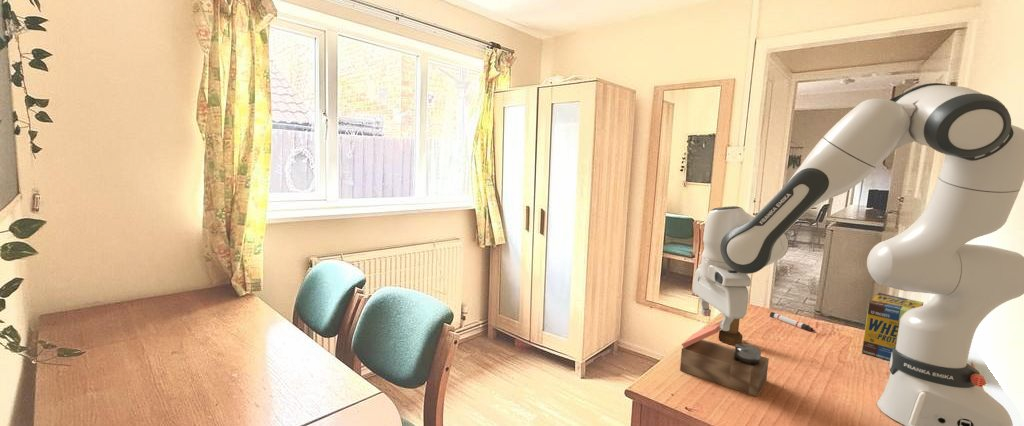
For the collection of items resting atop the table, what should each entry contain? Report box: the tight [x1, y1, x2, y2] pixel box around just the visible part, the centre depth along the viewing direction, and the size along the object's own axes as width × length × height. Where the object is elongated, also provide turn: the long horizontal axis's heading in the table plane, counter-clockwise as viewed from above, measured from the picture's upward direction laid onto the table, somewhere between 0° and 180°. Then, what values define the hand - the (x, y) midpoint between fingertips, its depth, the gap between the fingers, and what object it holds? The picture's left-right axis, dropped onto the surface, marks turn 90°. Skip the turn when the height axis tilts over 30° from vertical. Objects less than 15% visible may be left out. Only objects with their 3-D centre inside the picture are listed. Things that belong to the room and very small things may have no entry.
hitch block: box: [679, 339, 770, 397], centre depth 110 cm, size 18×10×6 cm, turn 49°
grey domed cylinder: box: [734, 342, 762, 366], centre depth 107 cm, size 6×6×8 cm
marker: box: [769, 311, 816, 332], centre depth 147 cm, size 15×2×2 cm, turn 22°
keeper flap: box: [681, 319, 723, 348], centre depth 113 cm, size 10×9×1 cm
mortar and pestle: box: [718, 319, 743, 346], centre depth 131 cm, size 7×6×18 cm
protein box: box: [861, 292, 924, 362], centre depth 126 cm, size 10×15×16 cm
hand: (714, 322), depth 110 cm, fingers open, 8 cm apart
